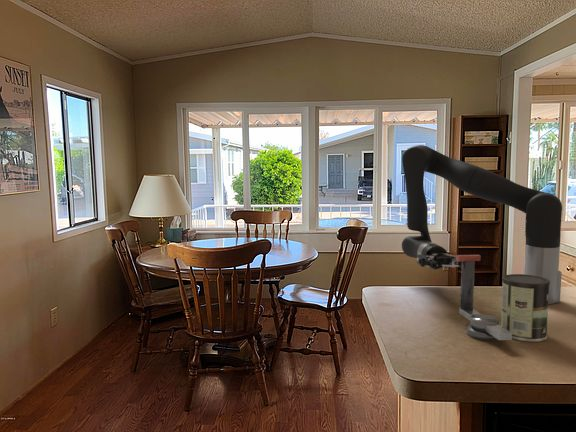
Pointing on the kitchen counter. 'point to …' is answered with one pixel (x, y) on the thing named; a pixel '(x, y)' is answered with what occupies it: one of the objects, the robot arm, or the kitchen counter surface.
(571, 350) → the kitchen counter surface
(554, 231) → the robot arm
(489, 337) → the base
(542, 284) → the coffee can
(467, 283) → the crank
